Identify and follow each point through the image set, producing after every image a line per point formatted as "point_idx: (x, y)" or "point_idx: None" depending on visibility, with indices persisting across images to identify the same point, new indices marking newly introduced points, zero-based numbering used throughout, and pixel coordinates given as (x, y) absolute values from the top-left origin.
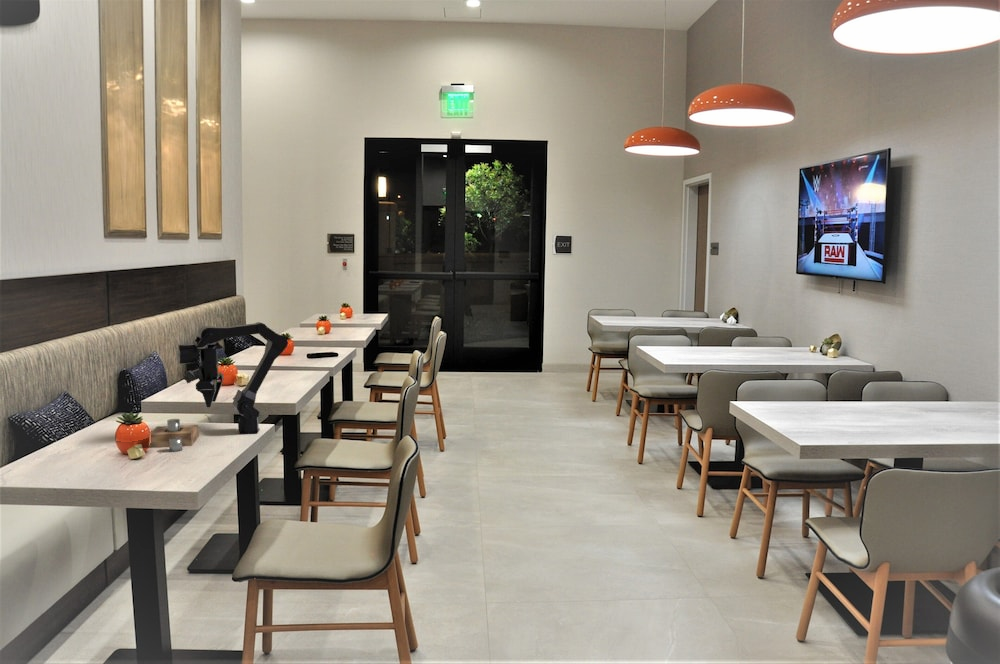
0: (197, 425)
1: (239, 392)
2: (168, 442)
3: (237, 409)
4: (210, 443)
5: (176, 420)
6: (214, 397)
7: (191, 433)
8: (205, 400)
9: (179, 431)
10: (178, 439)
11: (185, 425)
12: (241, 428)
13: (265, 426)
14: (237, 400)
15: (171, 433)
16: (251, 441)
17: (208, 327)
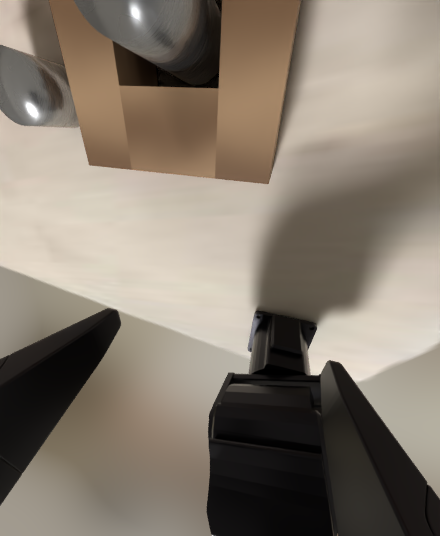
0: (249, 180)
1: (261, 533)
2: None
3: (223, 396)
4: (165, 226)
5: (97, 10)
6: (328, 415)
7: (99, 165)
8: (36, 347)
9: (115, 78)
10: (10, 110)
11: (276, 86)
12: (267, 330)
13: None
14: (219, 453)
15: (65, 23)
16: (174, 325)
17: None
